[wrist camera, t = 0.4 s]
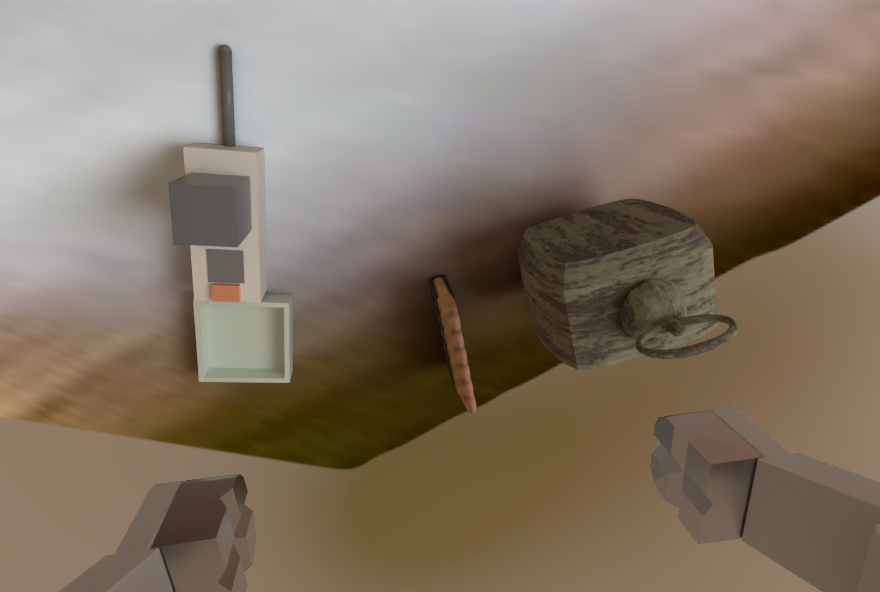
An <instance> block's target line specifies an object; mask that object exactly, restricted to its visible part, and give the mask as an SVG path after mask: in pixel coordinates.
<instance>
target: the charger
mask: <svg viewBox="0 0 880 592" xmlns="http://www.w3.org/2000/svg"><path fill="white" fill-rule="evenodd" d="M169 192H170V204H171V215H172V227H173V239H174V244H178V245H198V246H218V247H238V246H239V245H240V244H241V243H242V241H243V240H244V239H245V238H246V236H247V235H248V234H249V233H250V231H251V230H252V222H251V190H250V177H249V176H235V175H221V174H207V173H193V172H192V173H190V174H188V175H186V176H183V177H181V178H179V179H177V180H175V181H173V182H170V183H169Z"/></svg>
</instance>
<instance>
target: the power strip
mask: <svg viewBox="0 0 880 592" xmlns="http://www.w3.org/2000/svg"><path fill="white" fill-rule="evenodd" d="M219 58H220V79H221V100H222V121H223V142H224V145H217V144H204V143H194V144H191V145H188V146H184V147H183V154H184V168H185V176H186V175H188V174H190V173H192V172H193V173H207V174H221V175H235V176H249V177H250V190H251V222H252V230H251V231H250V233H249V234H248V235H247V236H246V238H245V239H244V240H243V241H242V243H241V244H240V245H239V246H238V247H218V246H198V245H190V249H191V263H192V277H193V290H194V300H203V301H221V302H261V300H262V298H263V296H264V294H265V292H266V290H267V247H266V202H265V156H264V148H254V147H242V146H235V125H234V100H233V76H232V51H231V48H230V47H229V46H227V45H222V46H220V48H219Z"/></svg>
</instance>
